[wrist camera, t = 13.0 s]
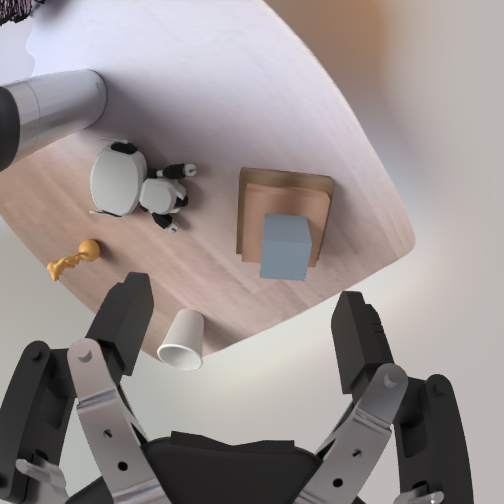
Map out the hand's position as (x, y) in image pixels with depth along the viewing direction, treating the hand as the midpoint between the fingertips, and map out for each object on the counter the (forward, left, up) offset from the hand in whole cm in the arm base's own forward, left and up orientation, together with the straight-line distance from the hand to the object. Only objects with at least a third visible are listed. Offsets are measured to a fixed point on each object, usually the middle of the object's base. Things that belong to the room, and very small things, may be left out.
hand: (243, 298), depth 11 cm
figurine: (-29, -18, -28) cm, 45 cm away
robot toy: (-17, -6, -29) cm, 34 cm away
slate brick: (+4, -10, -22) cm, 24 cm away
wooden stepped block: (+4, -10, -28) cm, 30 cm away
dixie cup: (-11, -35, -28) cm, 46 cm away
